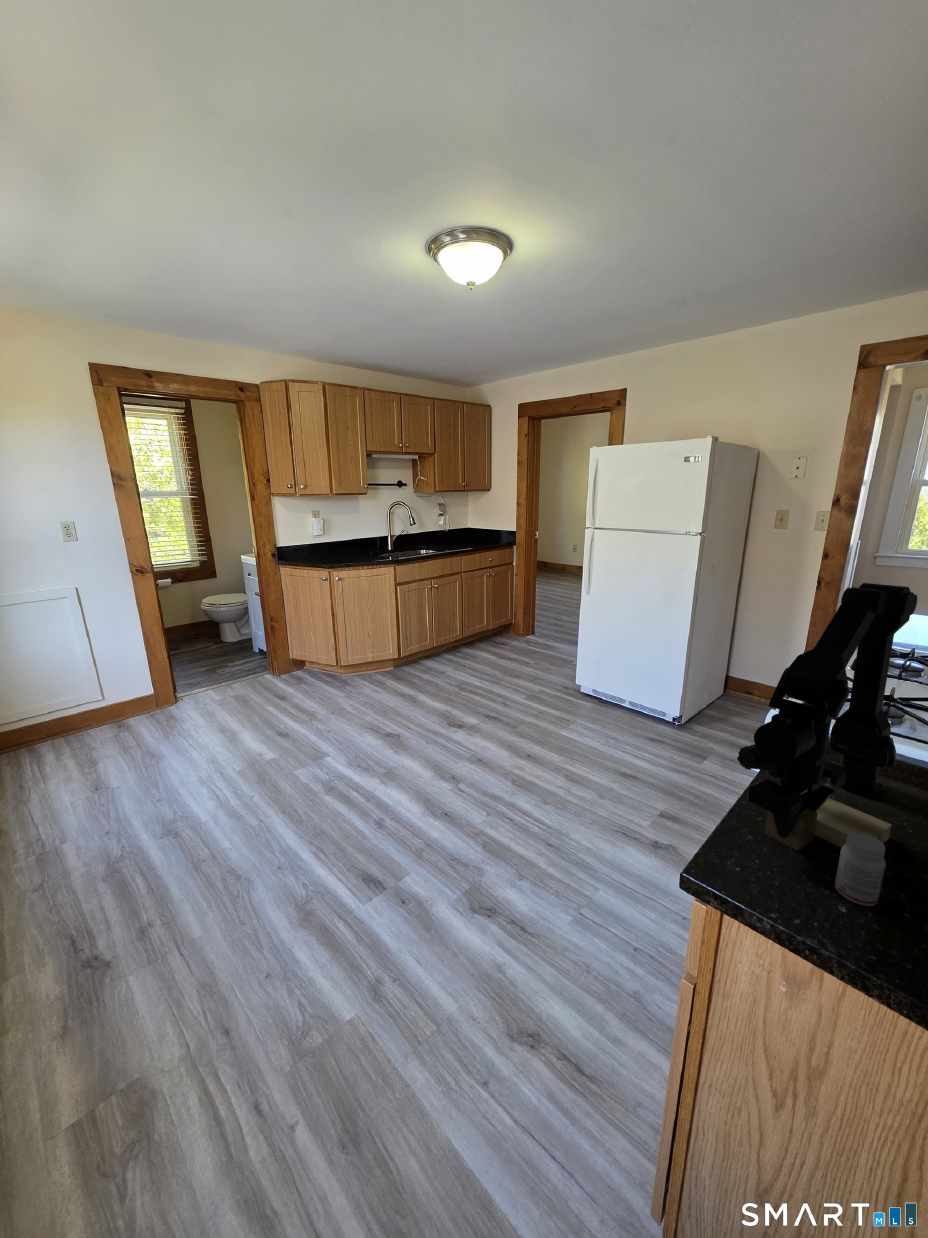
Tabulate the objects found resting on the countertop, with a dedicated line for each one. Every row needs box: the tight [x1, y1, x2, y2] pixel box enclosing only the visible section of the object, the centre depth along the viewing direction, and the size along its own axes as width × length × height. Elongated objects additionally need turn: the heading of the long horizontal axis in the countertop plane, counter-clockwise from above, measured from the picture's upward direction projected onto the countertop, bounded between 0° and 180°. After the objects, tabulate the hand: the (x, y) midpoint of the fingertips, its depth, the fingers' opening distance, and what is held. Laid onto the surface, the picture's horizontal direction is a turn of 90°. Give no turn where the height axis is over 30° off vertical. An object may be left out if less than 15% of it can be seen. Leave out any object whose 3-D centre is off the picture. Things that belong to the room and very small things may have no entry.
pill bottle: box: [834, 832, 887, 907], centre depth 66 cm, size 5×5×8 cm
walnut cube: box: [764, 806, 818, 852], centre depth 78 cm, size 5×5×5 cm
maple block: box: [814, 797, 893, 849], centre depth 79 cm, size 9×9×3 cm
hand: (790, 831), depth 78 cm, fingers closed on walnut cube, 5 cm apart
